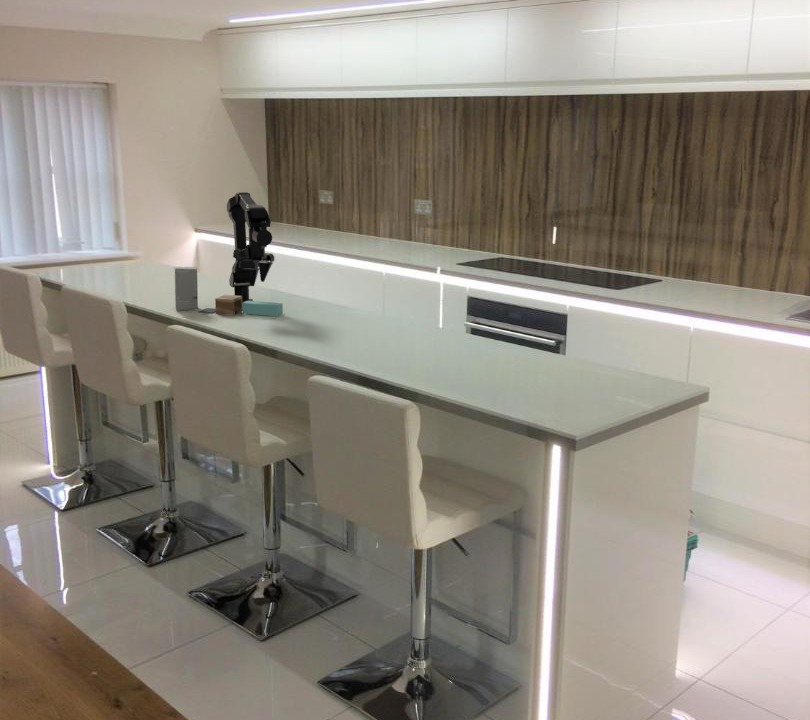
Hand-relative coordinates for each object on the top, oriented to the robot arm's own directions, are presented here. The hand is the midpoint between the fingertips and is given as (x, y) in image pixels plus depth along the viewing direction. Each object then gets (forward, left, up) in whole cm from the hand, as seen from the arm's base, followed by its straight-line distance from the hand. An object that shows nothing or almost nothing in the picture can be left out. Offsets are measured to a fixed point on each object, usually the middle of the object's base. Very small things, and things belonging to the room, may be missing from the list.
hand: (257, 283), depth 331 cm
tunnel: (+3, -10, -11) cm, 15 cm away
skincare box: (+2, -28, -11) cm, 30 cm away
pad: (+3, +4, -11) cm, 12 cm away
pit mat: (+3, -18, -11) cm, 21 cm away
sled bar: (+3, +3, -11) cm, 12 cm away
